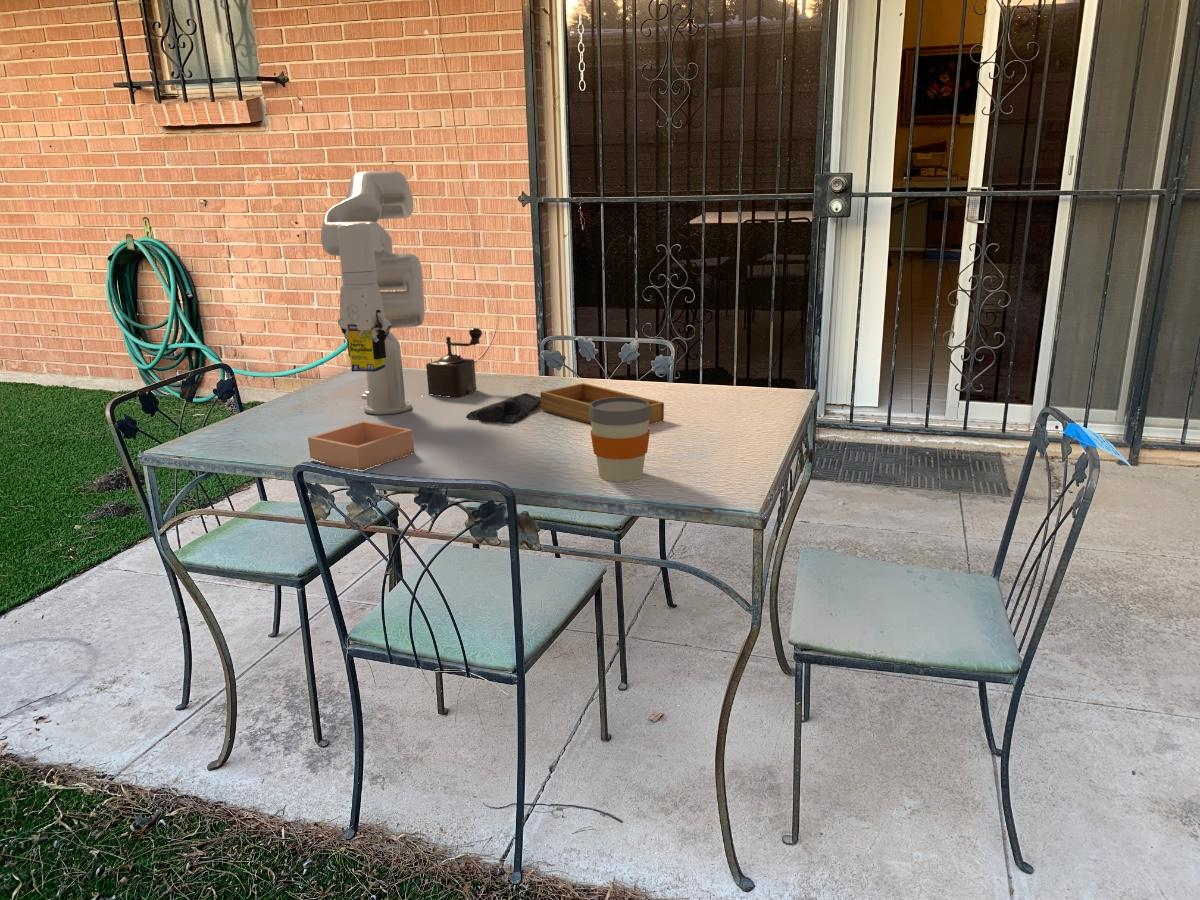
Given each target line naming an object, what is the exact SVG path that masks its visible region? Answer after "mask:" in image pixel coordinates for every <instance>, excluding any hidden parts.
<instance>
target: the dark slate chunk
mask: <svg viewBox="0 0 1200 900" xmlns="http://www.w3.org/2000/svg"><path fill="white" fill-rule="evenodd" d="M539 406H541V396H538V395H533V394H530V393H527V392H525V393H521V394H518V395H515V396H511V397H508V398H506V399H505V400H502V401H498V402H494V403H491V404H489V405H486V406H484V407H480V408H477V409H475V410H473V411H470V412H468V413H467V414H466V416H465V418H466V419H467V420H468V421H476V420H479V421H478V422H483V423H484V422H485V423H490V422H491V424H514V423H515V424H516V423H517V421H520V420H522V419H524V418H525V417H526V415H527V416H528V415H529V414H530V413H531V411H532V412H533V411H535V410H537V408H538V407H539ZM529 412H530V413H529ZM524 416H525V417H524ZM521 418H522V419H521ZM519 419H520V420H519Z"/></svg>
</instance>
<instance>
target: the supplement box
mask: <svg viewBox="0 0 1200 900" xmlns="http://www.w3.org/2000/svg"><path fill="white" fill-rule="evenodd" d="M375 328H376V326H375ZM347 330H348V341H349V351H350V357H349V358H350V359H349V360H350V361H349V362H350V368H351V372H352V373H353V372H366V371H371V372H376V371H378V370H381V369H383V368H385V358H382V359H374V355H373V344H372V343H373V342H375V341H374V339H373V337H372V330H371V331H360V330H358V327H357V325H356V324H347ZM376 333H377V335H378V331H377V332H376Z"/></svg>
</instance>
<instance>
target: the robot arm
mask: <svg viewBox="0 0 1200 900" xmlns="http://www.w3.org/2000/svg"><path fill="white" fill-rule="evenodd" d="M413 211H414V198H413V193H412V191H411V188H410V184H409V182H408V180H407V178H406V177H405V175H404V174H403V173H401V171H397V170H368V171H365V170H364V171H361V172H357V173H355V174H354V175H353V176H352V177H351V179H350V181H349V184H348V189H347V193H346V195H345V200H343V201H341V202H339V203H338V204H336V205H334V206H332V207H331V208H329V210H327V212H326V213H325V214H324V217H323V219H322V220H323V221H322V225H321V229H320V230H321V231H320V242H321V245H322V249H323V250H324V252H325V253H326V254H328V255H329V256H334V257H338V256H339V260H340V268H341V270H340V271H341V281H342V285H341V287H340V291H339V292H340V294H339V310H340V311H339V312H340V313H339V314H340V317H339V319H338V320H337V323H338V326H339V328H340V329H341V332H342V333H343V335H344V339H345V340H346V342H347V343H346V344H347V353H348V357H349V358H350V351H349V341H348V330H347V324H356V325H357V327H358V330H360V331H371V330H372V337H373V339H374V341H375V342H373V343H372V344H373V355H374V359H382V358H385V368H383V369H381V370H378V371H376V372H371V371H365V374H366V381H367V390H366V391H365V392H364V394H362V395H361V396H360V397H361V399H362V400H365V401H366V402H367V403H366V405H364V407H363V410H364V412H365V413H366V414H371V415H392V414H393V415H394V414H400V413H404V412H406V411H409V410H410V409H412V403H411V401H409V400H406V394H405V393H406V392H405V384H404V372H403V362H402V351H401V350H402V349H401V344H400V342H399V340H398V338H397V337H396V336H395V335H394V334H393V333H392V332H391V331H390V330H391V329H401V328H414V327H416V328H417V327H419V326H421V325H422V324H423V322H424V320H425V311H426V310H425V297H424V296H425V295H424V293H425V292H424V279H423V277H424V276H423V269H422V265H421V261H420V259H419V257H417V256H416V254H413V253H409V252H407V253H405V252H404V253H402V252H401V253H394V251H393V239H392V236H390V234H389V233H388V232H387V230H386V229H385V228H384V227H383V226H381V224H379V223H378V221H379V220H396V219H397V220H398V219H406V218H409V217H410V216H411V215H412V214H413ZM375 326H376V328H375ZM377 331H378V335H377V333H376V332H377Z"/></svg>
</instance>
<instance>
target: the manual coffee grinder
mask: <svg viewBox="0 0 1200 900" xmlns="http://www.w3.org/2000/svg"><path fill="white" fill-rule="evenodd" d="M468 333H469V334H468V335H469V336H470V338H471V339H470V341H469V342H468V343H467V342H465V343H464V342H463V343H462V342H452V341H451V337H450V336H446V338H445V339H446V341H445V344H446V346H447V354H446V355H443V356H442V357H440V358H438V360H434V361H431V362H429V363H428V362H427V363H426V365H425V366H426V377H427V379H426V380H427V389H428V395H429V394H433V395H441V396H440V397H442V396H450V397H449V398H453V397H459V398H461V397H464V396H466V394H467V395H469V394H471V393H473V392H475V391H477V390H478V388H477V380H476V365H475V359H474V358H473V359H472V358H463V357H461V354H459V355H458V354H453V353H452V347H457V346H459V347H471V346H474V347H475V346H476V345H479V344H480V343H481V342H480V338H481V337H482V335H483V331H482V329H480V328H477V327H472V328H470V329H469V331H468ZM451 346H452V347H451ZM476 389H477V390H476ZM472 391H473V392H472ZM470 392H471V393H470ZM463 395H464V396H463ZM460 396H461V397H460Z"/></svg>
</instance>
